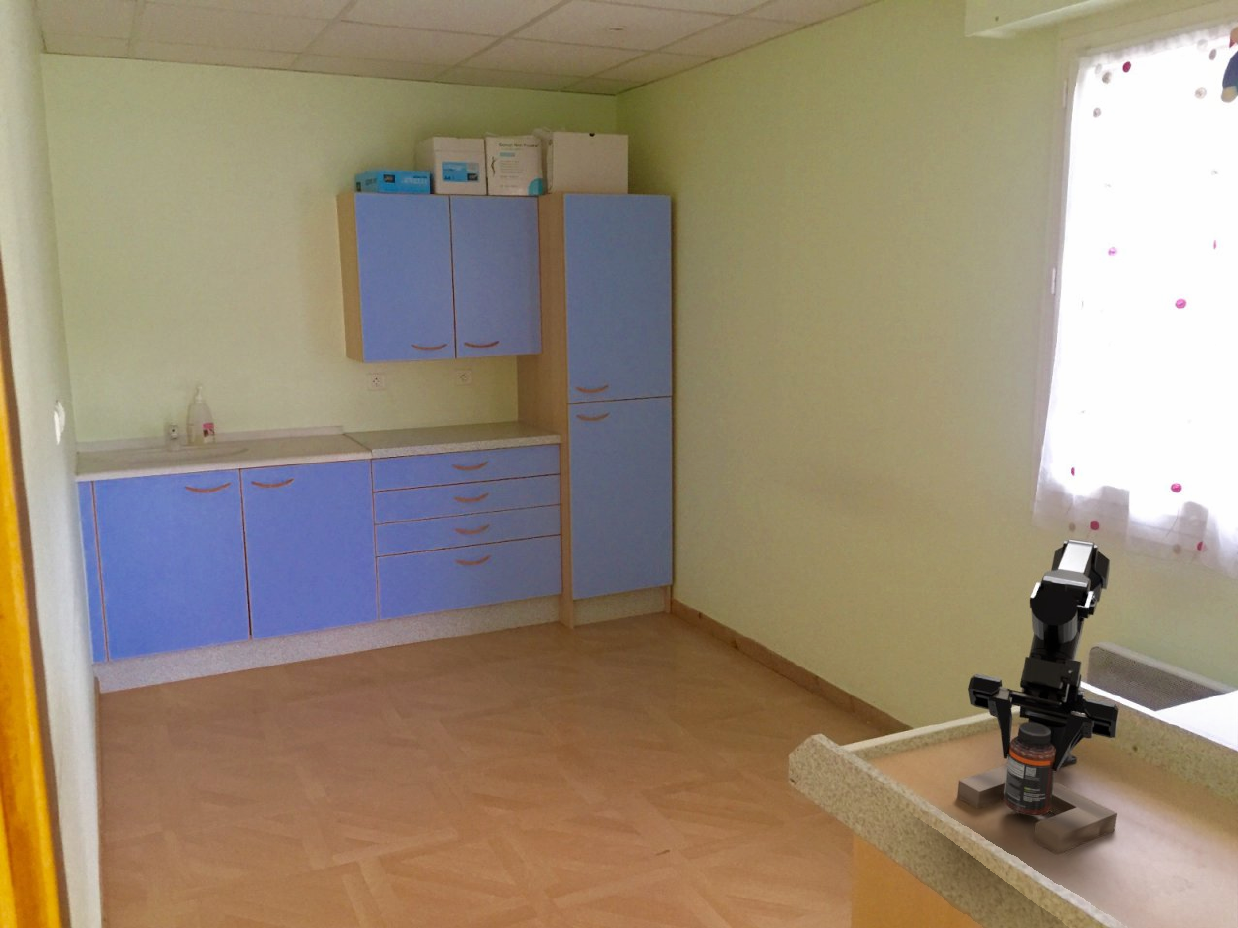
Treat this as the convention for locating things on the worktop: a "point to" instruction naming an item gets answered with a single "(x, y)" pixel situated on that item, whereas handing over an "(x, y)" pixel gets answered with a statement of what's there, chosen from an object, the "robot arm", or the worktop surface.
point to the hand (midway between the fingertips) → (1029, 763)
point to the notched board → (1072, 810)
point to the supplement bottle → (1030, 770)
